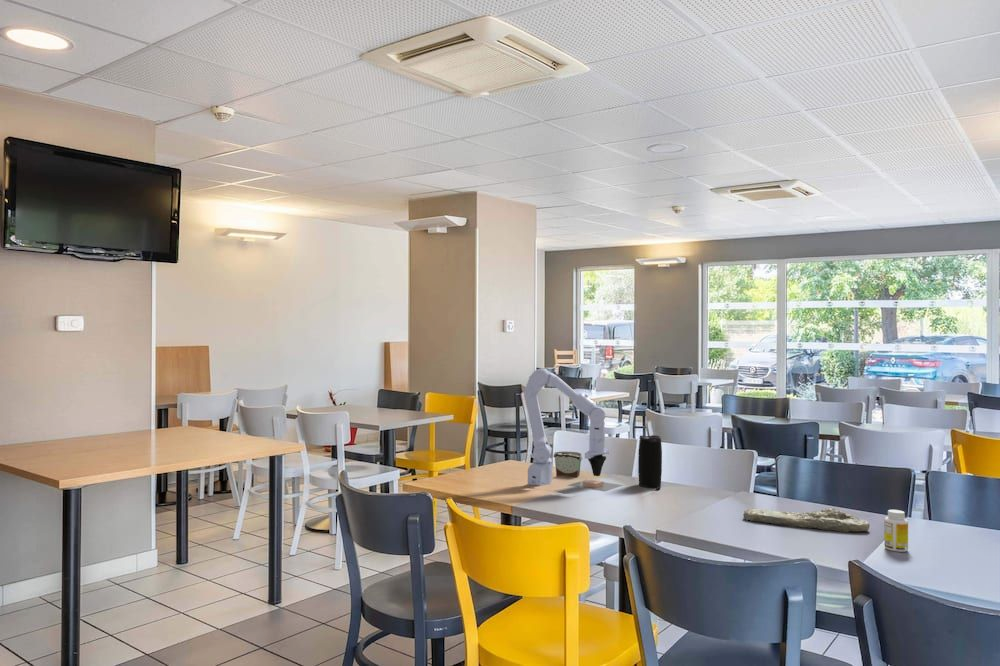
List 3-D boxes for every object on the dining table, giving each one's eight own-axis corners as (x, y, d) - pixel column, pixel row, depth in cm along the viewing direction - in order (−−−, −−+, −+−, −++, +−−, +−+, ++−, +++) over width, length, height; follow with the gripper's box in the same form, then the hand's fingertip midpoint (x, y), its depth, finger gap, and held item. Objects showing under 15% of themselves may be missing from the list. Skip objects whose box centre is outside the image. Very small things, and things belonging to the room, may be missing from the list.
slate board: (605, 494, 254) (605, 491, 254) (566, 488, 264) (566, 485, 264) (623, 488, 265) (623, 485, 265) (586, 482, 275) (586, 479, 275)
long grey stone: (745, 519, 227) (742, 529, 218) (744, 503, 227) (741, 511, 217) (868, 526, 213) (871, 536, 204) (867, 508, 213) (870, 518, 204)
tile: (603, 485, 264) (596, 488, 259) (590, 483, 267) (582, 486, 263) (603, 481, 264) (596, 483, 259) (590, 479, 267) (582, 481, 263)
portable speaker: (655, 486, 270) (656, 434, 270) (665, 491, 261) (666, 437, 261) (634, 486, 268) (634, 434, 268) (643, 491, 259) (644, 438, 259)
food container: (587, 478, 284) (588, 453, 284) (581, 480, 278) (581, 455, 279) (560, 474, 290) (560, 450, 290) (553, 477, 285) (553, 452, 285)
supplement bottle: (910, 549, 191) (910, 511, 191) (904, 554, 186) (905, 514, 187) (887, 545, 194) (887, 507, 194) (881, 549, 190) (881, 511, 190)
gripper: (596, 442, 257) (596, 479, 257) (616, 438, 269) (615, 474, 268) (579, 440, 261) (579, 477, 261) (599, 436, 273) (599, 471, 273)
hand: (596, 475), depth 265 cm, fingers closed
